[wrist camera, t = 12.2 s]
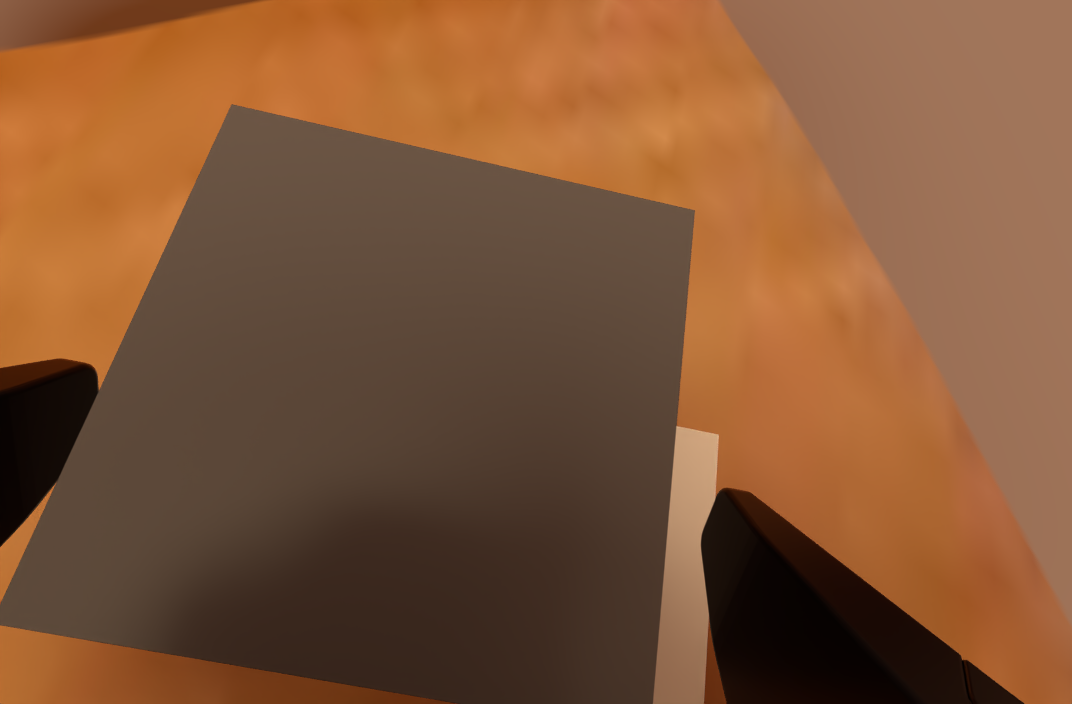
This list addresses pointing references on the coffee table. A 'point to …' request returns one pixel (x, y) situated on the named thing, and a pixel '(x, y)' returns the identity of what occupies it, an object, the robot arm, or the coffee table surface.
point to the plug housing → (383, 429)
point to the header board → (686, 572)
